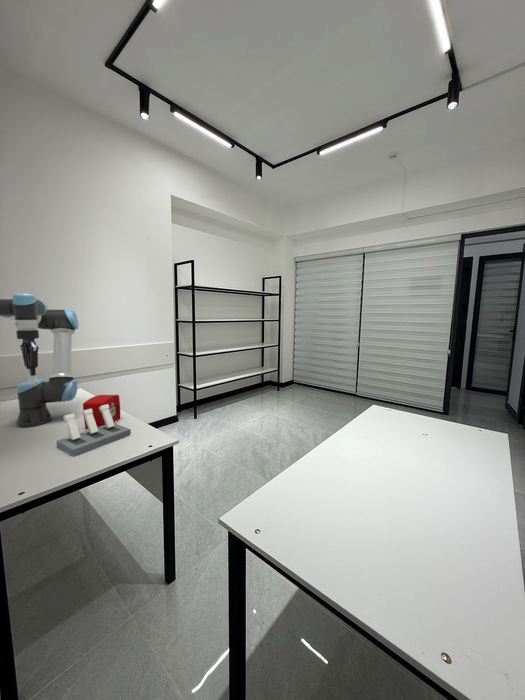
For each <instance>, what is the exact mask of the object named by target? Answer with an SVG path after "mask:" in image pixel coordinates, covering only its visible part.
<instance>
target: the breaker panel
mask: <svg viewBox="0 0 525 700" xmlns="http://www.w3.org/2000/svg"><path fill="white" fill-rule="evenodd" d="M114 425H115V426H114V427H111V428H108V429H107V426H106V425H103V426H100V427H97V428H98V432H96V433H93V434H90V432H89V429H87V430H85V431H83V432H79V434H80V438H78V439H75V440H71V436H70V435H69V436H67V437H64V438H61V439H60V438H59V439H57V440H56V442H55V444H56V448H58V449H60V450H61V449H62V451H64V452H65V453H67V454H68V453H69V455H70V456H72V457H77V456H80V455H82V454H84V452H85V453H87V452H90V451H93V450H96V449H98V448H100V446H101V447H103V446H105V445H108V444H111V443H114V442H117V441H120V440H121V438H122V439H124V438H127V437H129V436H128V435H130V434H131V435H132V432H131V428H129V427H126V426H123V425H120V424H118V423H116V422H114ZM131 435H130V436H131ZM126 436H127V437H126ZM123 437H124V438H123ZM113 441H114V442H113ZM76 455H77V456H76Z"/></svg>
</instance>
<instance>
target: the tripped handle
mask: <svg viewBox="0 0 525 700" xmlns="http://www.w3.org/2000/svg"><path fill="white" fill-rule="evenodd" d="M62 418H63V420H64V422H65V423H66V427H67V430H68V432H69V433H68V434H69V436H71V440H75V439H78V438H80V434H79V433H80V432H79V428H78V426H77V425H78V424H77V422H76V415H75V413H74V412H73V413H69V414H65V415H63V417H62Z"/></svg>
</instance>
